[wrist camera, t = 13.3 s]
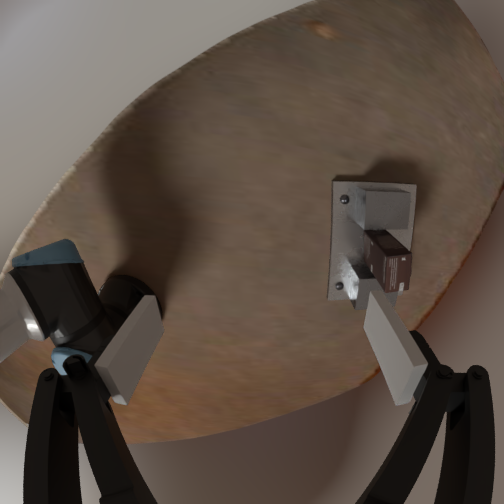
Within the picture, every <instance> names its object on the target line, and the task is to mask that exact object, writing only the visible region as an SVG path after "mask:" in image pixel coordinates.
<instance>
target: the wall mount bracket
mask: <svg viewBox="0 0 504 504" xmlns="http://www.w3.org/2000/svg"><path fill="white" fill-rule="evenodd" d="M416 186H417V185H415V184H407V183H391V182H369V181H332V201H331V238H330V259H329V275H328V288H327V299H328V300H342V299H350V300H351V302H352V305H353V307H354V309H355V310H361V309H367V307H368V301H369V295H370V291H377V290H382V292H383V293H384V295H385V296H386V298H387V299H388V301H389V302H390V304H391V305H392V306H393V307H394V306H395V304H396V299H397V295H402V293H403V291H397V292H391V293H385V292H384V290H383V289H382V287H381V286H380V284H379V283H378V281H377V279H376V278H375V276H374V275H373V273H372V272H371V270H370V269H369V267H368V266H367V264H366V263H365V262H364V235H363V231H364V230H387V231H388V232H389V233H390V234H391V235H392V236H394V237H395V238H396V239H397V240H398V241H399V242H400V243H401V244H403V245H404V246H405V247H406V248H407V249H408V250H409V251H410V248H411V241H412V233H413V224H414V214H415V202H416Z"/></svg>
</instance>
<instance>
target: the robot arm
mask: <svg viewBox="0 0 504 504" xmlns="http://www.w3.org/2000/svg"><path fill="white" fill-rule="evenodd" d="M12 266H13V267H14V269H13V270H11V271H10V272H8V273H6V274H5V278H4V283H3V287H2V288H1V289H0V363H1V362H2V361H3V360H5V359H6V358H7V357H8V356H9V355H11V354H12V353H13V352H14V351H15V350H17V349H18V348H19V347H20V346H21V345H23V344H24V343H25V342H26V341H28V340H29V339H35V340H39V341H44V340H45V339H46V338H48V337H50V338H51V340H52V342H53V343H54V345H55V347H56V348H54V349H53V351H52V355H51V358H52V362H53V365H54V366H55V368H56V369H57V370H56V369H54V368H48V369H46V370H44V371H43V372H42V373H41V374H40V376H39V379H38V383H37V387H36V391H35V395H34V400H33V405H32V410H31V415H30V421H29V427H28V434H27V442H26V451H25V462H24V481H23V482H24V483H23V501H24V503H23V504H82V498H81V488H80V476H79V456H78V425H79V429H80V433H81V436H82V440H83V444H84V447H85V450H86V454H87V456H88V460H89V463H90V466H91V468H92V471H93V474H94V477H95V480H96V482H97V485H98V487H99V490H100V492H101V498H100V499H99V502H100V504H157V502H156V500H155V498H154V497H153V495H152V493H151V492H150V490H149V488H148V486H147V484H146V483H145V481H144V479H143V477H142V475H141V474H140V471H139V470H138V468H137V466H136V464H135V462H134V460H133V457H132V455H131V454H130V451H129V449H128V447H127V445H126V442H125V440H124V438H123V435H122V433H121V431H120V428H119V426H118V423H117V421H116V418H115V416H114V413H113V410H112V408H111V405H110V403H109V401H108V400H109V398H110V396H111V397H112V398H113V400H114V402H115V403H119V404H124V405H128V403H129V401H130V398H131V396H132V394H133V392H134V390H135V388H136V386H137V384H138V382H139V380H140V378H141V376H142V374H143V372H144V370H145V368H146V366H147V364H148V362H149V360H150V358H151V356H152V354H153V352H154V350H155V348H156V346H157V344H158V342H159V340H160V338H161V336H162V334H163V333H164V328H163V324H162V320H161V319H162V310H161V306H160V303H159V301H158V299H157V297H156V295H155V294H154V293H153V291H152V290H151V289H150V288H149V287H148V286H147V285H145V284H144V283H143V282H141V281H140V280H138V279H136V278H134V277H131V276H127V275H117V276H114V277H111V278H110V279H109V280H107V281H106V282H105V283H104V284H103V285H102V287H101V288H100V290H99V293H98V294H97V292H96V290H95V288H94V285H93V283H92V281H91V279H90V277H89V274H88V272H87V270H86V267H85V265H84V261H83V260H82V259H81V257H80V255H79V252H78V250H77V248H76V246H75V244H74V243H73V242H72V241H71V240H68V239H63V240H60V241H57V242H54V243H52V244H49V245H46V246H43V247H41V248H38V249H35V250H33V251H30V252H27V253H25V254H22V255H20V256H17V257H15V258H13V259H12ZM364 330H365V332H366V334H367V337H368V339H369V341H370V343H371V346H372V348H373V350H374V353H375V355H376V357H377V360H378V362H379V365H380V367H381V369H382V372H383V374H384V377H385V379H386V381H387V384H388V387H389V389H390V392H391V394H392V397H393V400H394V402H395V405H396V406H398V405H402V404H406V403H409V402H410V400H411V398H412V396H414V398H415V400H416V402H415V404H414V405H413V407H412V409H411V411H410V412H409V416H408V418H407V420H406V422H405V424H404V426H403V428H402V430H401V432H400V434H399V436H398V438H397V440H396V442H395V443H394V445H393V447H392V449H391V451H390V452H389V454H388V456H387V457H386V459H385V461H384V462H383V464H382V466H381V467H380V469H379V470H378V472H377V473H376V475H375V477H374V478H373V479H372V481H371V482H370V484H369V485H368V487H367V488H366V490H365V491H364V492H363V494H362V495H361V497H360V498H359V499H358V500H357V502H356V503H355V504H404V502H405V500H406V499H407V497H408V495H409V494H410V492H411V490H412V488H413V486H414V484H415V482H416V481H417V478H418V477H419V474H420V473H421V470H422V468H423V466H424V464H425V462H426V460H427V457H428V455H429V453H430V451H431V448H432V446H433V443H434V441H435V438H436V436H437V433H438V431H439V428H440V425H441V422H442V419H443V416H444V413H445V412H447V420H446V435H445V445H444V453H443V460H442V467H441V473H440V479H439V484H438V489H437V493H436V498H435V502H434V504H491V500H492V492H493V482H494V468H495V429H494V428H495V427H494V413H493V403H492V395H491V387H490V380H489V375H488V372H487V371H486V369H485V368H483V367H482V366H479V365H473V366H471V367H470V368H469V369H468V371H467V373H454V371H453V370H452V369H451V368H450V367H448V366H446V365H442V364H440V362H439V361H438V359H437V358H436V356H435V354H434V353H433V351H432V350H431V348H429V345H428V343H426V340H425V339H424V337H423V336H422V335H421V334H420V333H418V332H417V331H416V330H413V331H408V330H407V328H406V326H405V325H404V323H403V322H402V320H401V319H400V317H399V316H398V314H397V313H396V311H395V309H394V308H393V306H392V305H391V304H390V302H389V301H388V299H387V298H386V296H385V295H384V293H383V292H382V290H377V291H370V295H369V301H368V307H367V312H366V318H365V323H364ZM58 372H59V373H60V374H61V375H60V374H59V373H58Z"/></svg>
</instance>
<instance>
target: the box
mask: <svg viewBox="0 0 504 504" xmlns="http://www.w3.org/2000/svg"><path fill="white" fill-rule="evenodd" d="M363 235H364V262H365V263H366V264H367V266H368V267H369V269H370V270H371V272H372V273H373V275H374V276H375V278H376V279H377V281H378V283H379V284H380V286H381V287H382V289H383V290H384V292H385V293H391V292H397V291H404V290H408V289H409V282H410V276H411V262H412V253H411V252H410V251H409V250H408V249H407V248H406V247H405V246H404V245H403V244H401V243H400V242H399V241H398V240H397V239H396V238H395V237H394V236H392V235H391V234H390V233H389V232H388V231H387V230H364V231H363Z"/></svg>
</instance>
